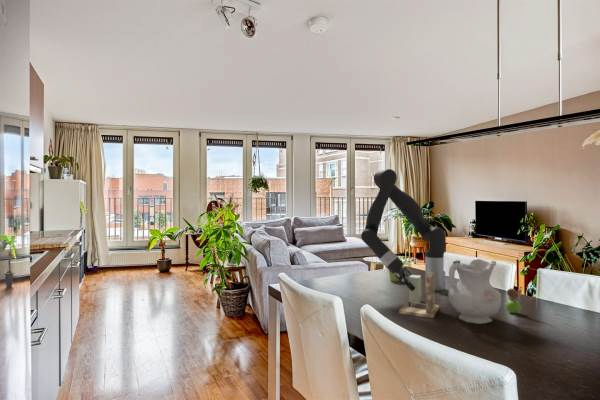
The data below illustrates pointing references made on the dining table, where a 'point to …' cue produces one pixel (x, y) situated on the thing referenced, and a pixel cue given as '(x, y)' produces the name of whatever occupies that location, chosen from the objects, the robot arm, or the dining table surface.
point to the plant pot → (393, 277)
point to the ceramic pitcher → (474, 291)
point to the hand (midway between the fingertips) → (415, 287)
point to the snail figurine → (513, 300)
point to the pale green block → (416, 293)
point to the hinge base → (423, 308)
